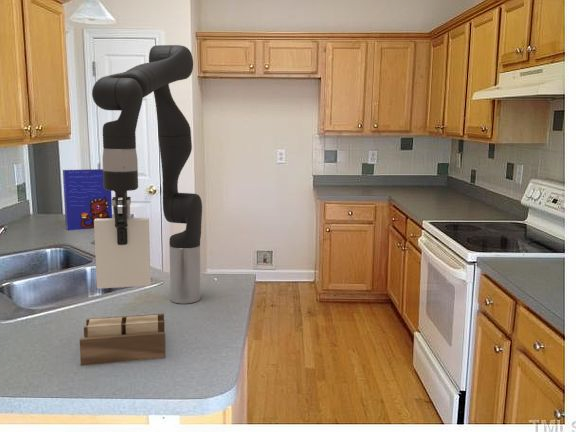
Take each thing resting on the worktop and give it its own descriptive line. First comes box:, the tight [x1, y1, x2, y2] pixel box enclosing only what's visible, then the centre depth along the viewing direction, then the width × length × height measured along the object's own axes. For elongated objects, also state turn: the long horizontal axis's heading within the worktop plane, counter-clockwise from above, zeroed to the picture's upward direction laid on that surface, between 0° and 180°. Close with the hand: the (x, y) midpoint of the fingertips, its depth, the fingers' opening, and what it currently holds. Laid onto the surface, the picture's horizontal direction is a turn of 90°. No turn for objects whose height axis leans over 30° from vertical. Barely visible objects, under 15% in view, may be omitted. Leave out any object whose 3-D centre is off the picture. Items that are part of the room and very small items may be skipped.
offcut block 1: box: [87, 316, 123, 338], centre depth 115 cm, size 4×7×8 cm, turn 105°
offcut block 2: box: [126, 314, 158, 335], centre depth 117 cm, size 4×7×8 cm, turn 105°
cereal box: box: [62, 168, 113, 231], centre depth 259 cm, size 22×6×30 cm, turn 122°
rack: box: [79, 313, 166, 366], centre depth 118 cm, size 13×18×7 cm
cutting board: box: [93, 217, 152, 289], centre depth 118 cm, size 2×12×16 cm, turn 105°
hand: (122, 242), depth 118 cm, fingers closed on cutting board, 2 cm apart
